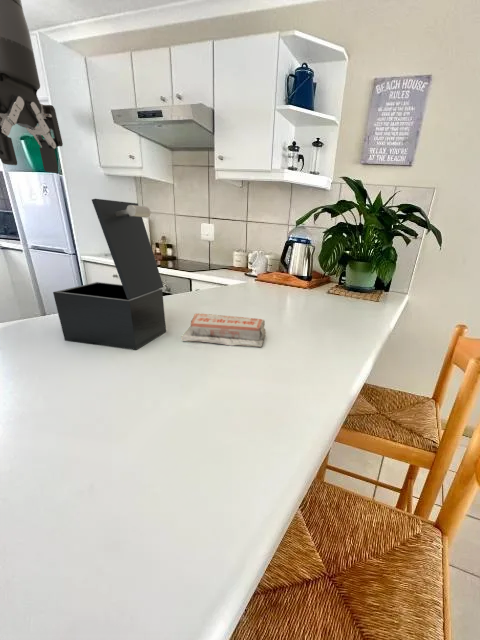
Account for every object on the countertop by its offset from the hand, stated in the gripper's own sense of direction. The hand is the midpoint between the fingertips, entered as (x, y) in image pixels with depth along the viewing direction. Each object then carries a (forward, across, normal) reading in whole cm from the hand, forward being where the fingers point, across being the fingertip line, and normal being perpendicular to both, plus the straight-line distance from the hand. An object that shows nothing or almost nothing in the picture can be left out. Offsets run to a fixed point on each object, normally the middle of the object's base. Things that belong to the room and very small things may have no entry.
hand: (32, 168), depth 56 cm
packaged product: (+30, -9, +32) cm, 45 cm away
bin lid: (+12, -2, +15) cm, 20 cm away
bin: (+30, -2, +10) cm, 32 cm away
